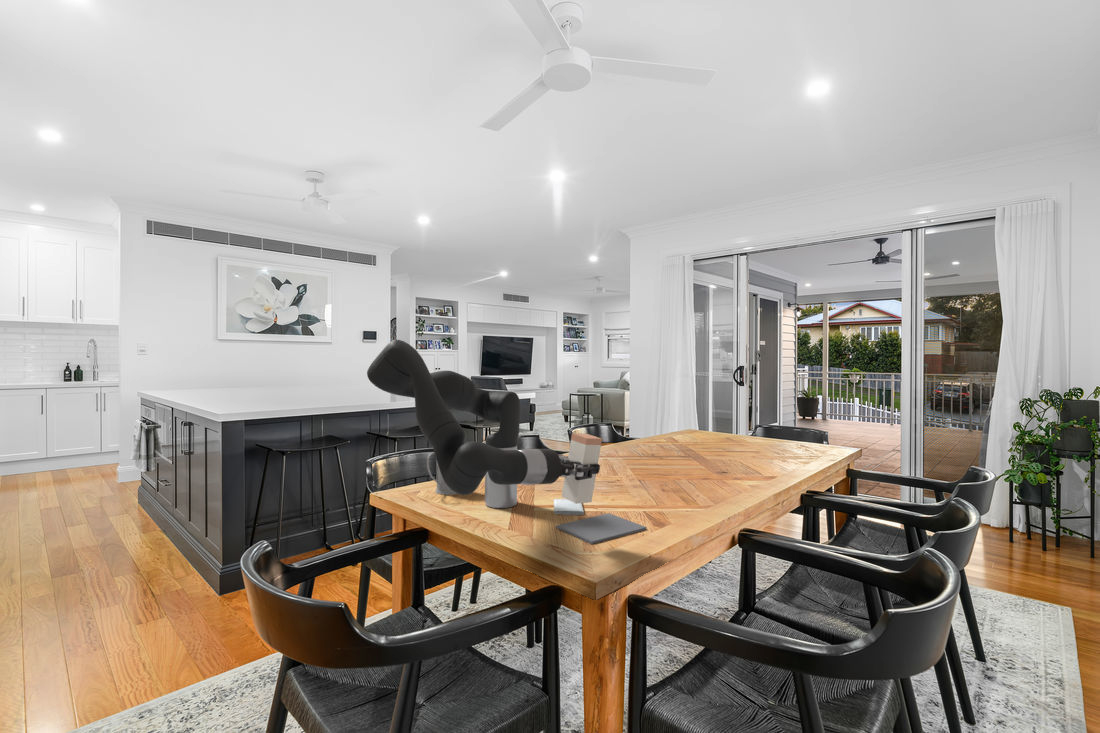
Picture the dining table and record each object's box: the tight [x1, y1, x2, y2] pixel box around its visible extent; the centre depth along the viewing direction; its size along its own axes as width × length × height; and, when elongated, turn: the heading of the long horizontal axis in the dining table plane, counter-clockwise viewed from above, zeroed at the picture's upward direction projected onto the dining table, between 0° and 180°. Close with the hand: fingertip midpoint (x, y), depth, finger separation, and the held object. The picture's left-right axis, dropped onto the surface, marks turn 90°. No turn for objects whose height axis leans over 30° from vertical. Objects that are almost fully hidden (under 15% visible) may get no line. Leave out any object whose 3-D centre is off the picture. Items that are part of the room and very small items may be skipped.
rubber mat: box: [555, 512, 648, 545], centre depth 129 cm, size 14×18×1 cm
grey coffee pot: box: [426, 451, 459, 496], centre depth 162 cm, size 9×14×15 cm, turn 150°
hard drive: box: [553, 498, 585, 516], centre depth 146 cm, size 2×8×12 cm
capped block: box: [561, 432, 603, 504], centre depth 118 cm, size 5×5×15 cm
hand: (590, 465), depth 120 cm, fingers closed on capped block, 5 cm apart
